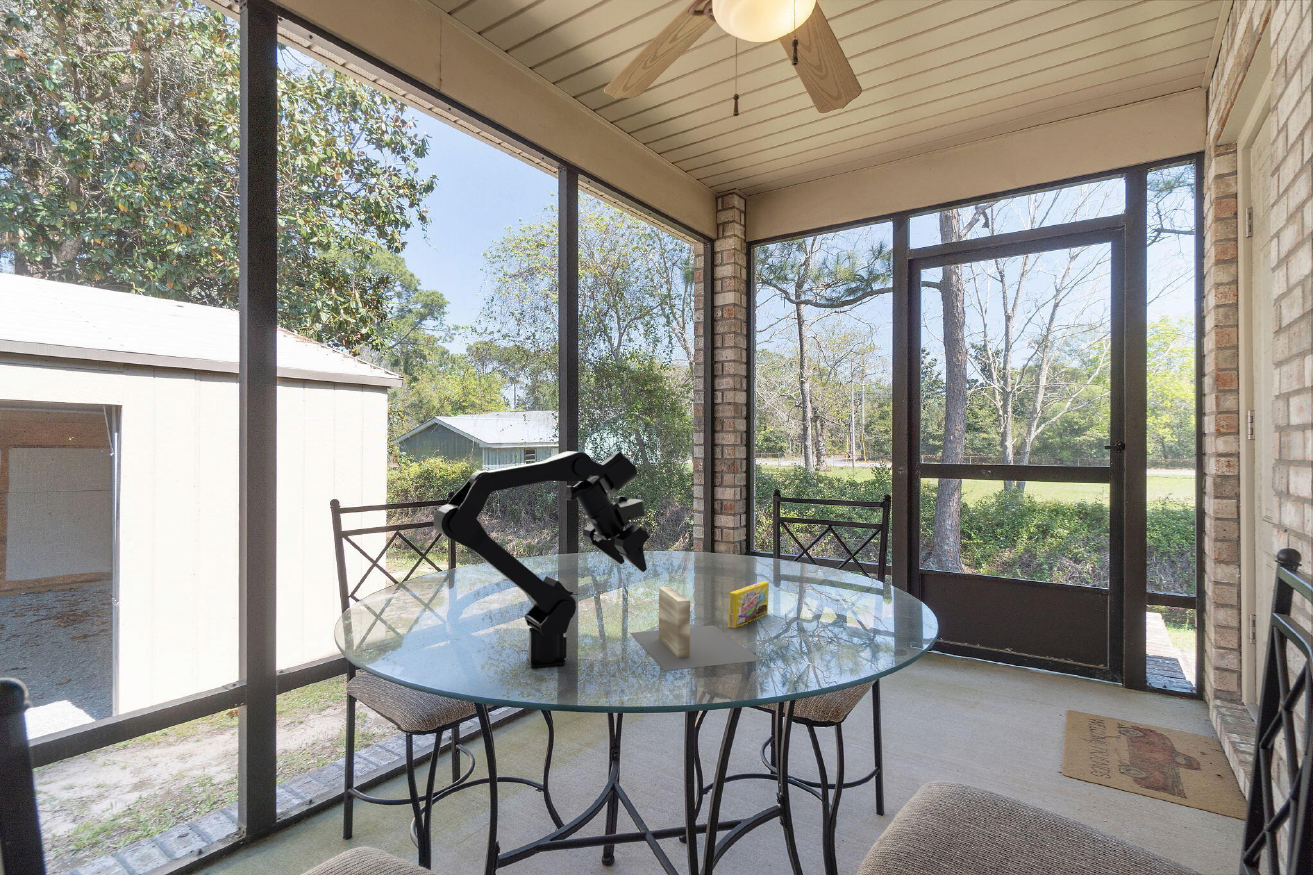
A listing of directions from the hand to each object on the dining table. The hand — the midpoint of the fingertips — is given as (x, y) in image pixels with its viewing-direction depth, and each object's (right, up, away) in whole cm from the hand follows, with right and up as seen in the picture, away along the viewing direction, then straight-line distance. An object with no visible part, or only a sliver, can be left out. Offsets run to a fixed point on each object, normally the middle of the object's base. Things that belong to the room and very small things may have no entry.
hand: (633, 566), depth 133 cm
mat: (+12, -16, -1) cm, 20 cm away
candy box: (+27, -17, +18) cm, 37 cm away
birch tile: (+8, -16, -2) cm, 18 cm away
